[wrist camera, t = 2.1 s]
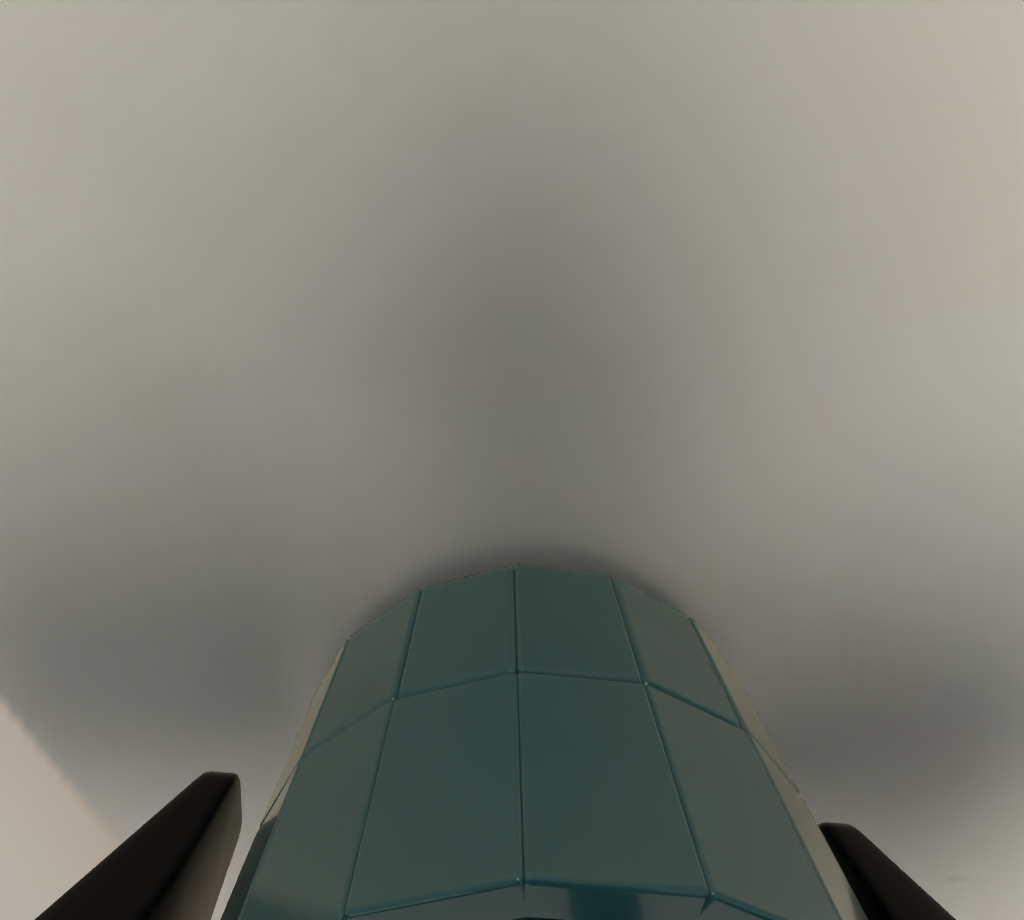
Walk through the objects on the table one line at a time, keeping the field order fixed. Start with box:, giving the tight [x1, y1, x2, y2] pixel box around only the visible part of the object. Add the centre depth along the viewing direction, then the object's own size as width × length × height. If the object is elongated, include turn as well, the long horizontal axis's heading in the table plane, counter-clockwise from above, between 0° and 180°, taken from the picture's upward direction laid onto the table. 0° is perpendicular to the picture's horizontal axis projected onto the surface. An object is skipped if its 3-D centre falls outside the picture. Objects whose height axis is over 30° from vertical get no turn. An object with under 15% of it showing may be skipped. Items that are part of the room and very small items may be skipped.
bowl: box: [221, 565, 868, 920], centre depth 7 cm, size 6×6×4 cm
